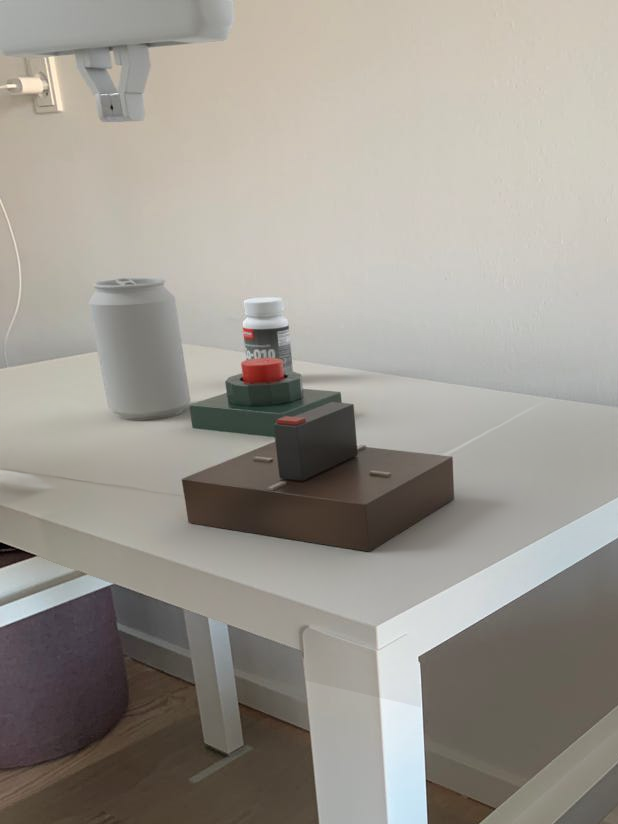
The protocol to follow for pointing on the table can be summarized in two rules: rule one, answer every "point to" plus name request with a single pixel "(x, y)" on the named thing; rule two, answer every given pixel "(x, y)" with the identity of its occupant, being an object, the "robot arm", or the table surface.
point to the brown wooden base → (322, 496)
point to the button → (262, 370)
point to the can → (139, 348)
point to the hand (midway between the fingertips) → (122, 121)
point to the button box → (257, 405)
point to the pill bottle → (267, 330)
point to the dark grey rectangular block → (315, 440)
